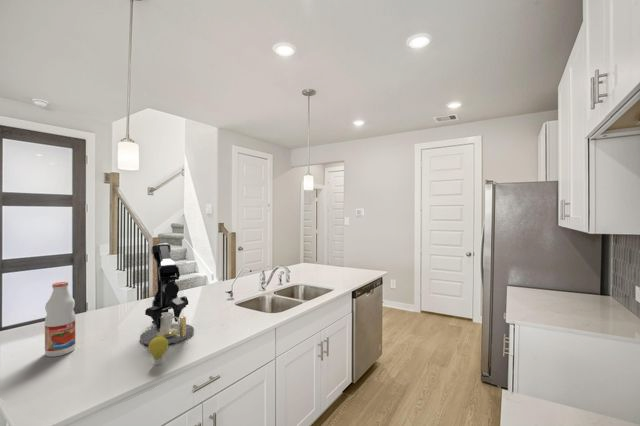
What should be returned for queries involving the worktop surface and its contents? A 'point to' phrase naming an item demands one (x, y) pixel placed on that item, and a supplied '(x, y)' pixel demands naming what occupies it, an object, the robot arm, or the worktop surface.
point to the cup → (167, 322)
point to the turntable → (172, 337)
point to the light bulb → (158, 348)
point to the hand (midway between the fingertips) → (167, 325)
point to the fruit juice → (59, 322)
